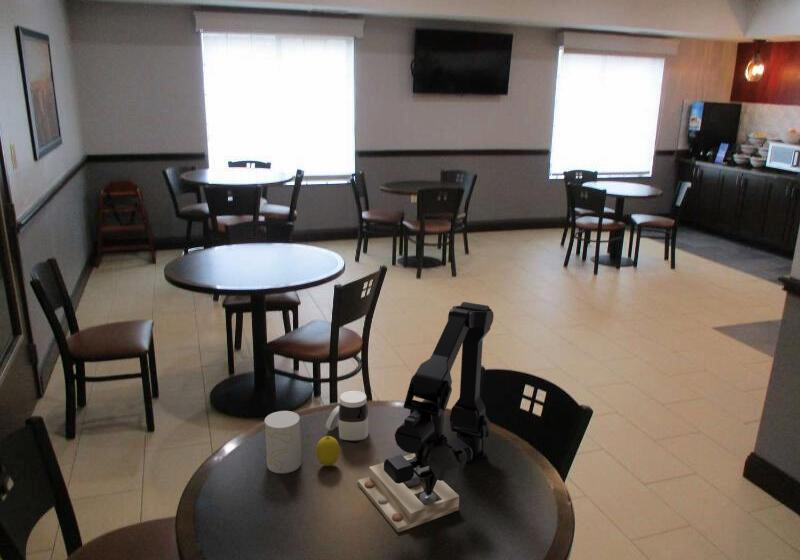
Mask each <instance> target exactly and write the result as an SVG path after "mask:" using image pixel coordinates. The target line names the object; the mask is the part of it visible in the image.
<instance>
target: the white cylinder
mask: <svg viewBox="0 0 800 560" xmlns="http://www.w3.org/2000/svg"><path fill="white" fill-rule="evenodd" d="M300 421H301V418H300V415H299V414H298V413H297V412H294V411H290V410H279V411H276V412H272V413H270V414H268V415H267V416H266V417H265V418H264V431H265V432H264V433H265V452H266V467H267V469H268V470H269V471H270V472H273V473H276V474H288V473H291V472H294V471H297V470H298V469H299V468H300V467H301V464H302V447H301V446H302V443H301V442H302V441H301V424H300V423H301V422H300Z"/></svg>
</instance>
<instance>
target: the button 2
mask: <svg viewBox="0 0 800 560" xmlns="http://www.w3.org/2000/svg"><path fill="white" fill-rule="evenodd" d="M420 501H421V502H422V503H423V504H424V505H428V504H431V503H434V502H436V495H435V494H434V493H431V495H428V496H427V495H426V494H425V492H423V493H421V494H420Z"/></svg>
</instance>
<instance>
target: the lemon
mask: <svg viewBox="0 0 800 560" xmlns="http://www.w3.org/2000/svg"><path fill="white" fill-rule="evenodd" d="M340 449H341V448H340V445H339V442H338V440H337V439H336V438H335V437H333V436H330V435H327V436H324V437H322V438H321V439H320V440H319V441H318V442H317V445H316V457H317V460H318V463H321V465H324V466H326V467H329V466H331V465H334V464H335V463H336V462H337V461H338V459H339V457H340V451H341V450H340Z"/></svg>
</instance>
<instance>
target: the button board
mask: <svg viewBox="0 0 800 560" xmlns="http://www.w3.org/2000/svg"><path fill="white" fill-rule="evenodd" d="M403 457H404V458H405V459H410V458H413V457H415V454H414V453H409V454H407V455H404V456H403ZM368 468H369V470H368V474H369V476H367V477H363V478H360V479H357V485H358V486H359V487H360V489H361V490H362V491H363V492H364V494H365V495H366V496H367V497H368V499H370V501H371V502H372V504H373V505H374V506H375V507H376V508H377V509H378V511H380V513H381V514H382V515H383V517H384V518H385V519H386V520H387V522H388V523H389V524H390V525H391V526H392V527H393V528H394V530H395V531H396V533H401V532H403V531H406V530H409V529H411V528H414V527H417V526H420V525H423V524H426V523H428V522H430V521H433V520H436V519H438V518H441V517H444V516H446V515H449V514H452V513H454V511H455V512H457V511H459V510H460V496H459V494H458V493H457V492H455V491H454V490H453V489H452V488H451V487H450V486H449V485H448V484H447V483H446V482H445V480H443V481H439V480H437V482H436V484H435V486H434V489H433V491H432V493H434V494H435V495H436V502H434V503H431V504H428V505H424V504H423V503H422V502H421V501H420V494H421V493H423V492H424V490H423V487H422V485H420V486H417V487H414V488H408V487H407V486H406V485H405V484H404V482H403V483H400V484H398V483H395V482H394V481H393V480H392V479H391V478H390V476H389V475H388V474H387V473H386V472H385V471H384V462H380V463H378V464H375V465H372V466H369V467H368Z"/></svg>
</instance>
